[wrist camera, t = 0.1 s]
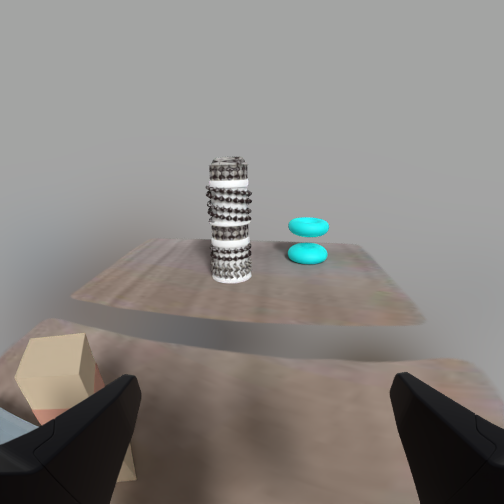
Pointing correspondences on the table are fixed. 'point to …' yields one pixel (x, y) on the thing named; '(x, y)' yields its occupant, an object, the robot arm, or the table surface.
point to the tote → (12, 426)
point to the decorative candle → (229, 219)
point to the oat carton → (62, 380)
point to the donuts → (308, 251)
